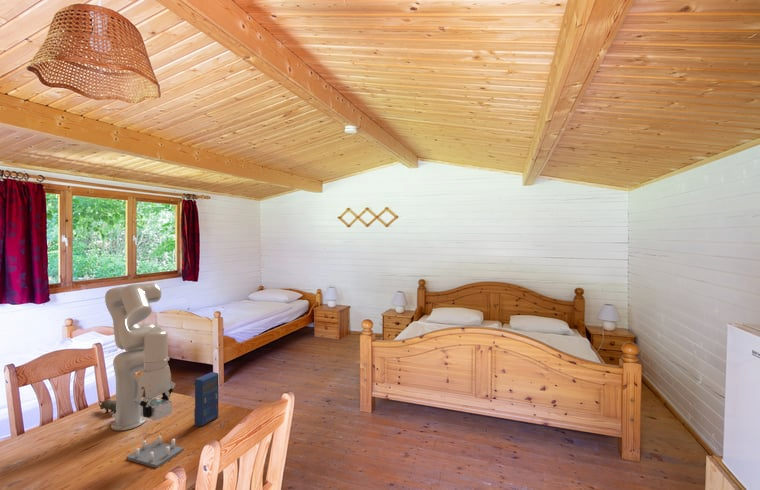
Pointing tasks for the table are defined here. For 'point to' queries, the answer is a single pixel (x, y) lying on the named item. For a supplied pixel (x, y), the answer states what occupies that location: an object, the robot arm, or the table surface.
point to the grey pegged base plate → (155, 453)
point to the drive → (159, 408)
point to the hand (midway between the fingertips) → (156, 412)
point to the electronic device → (206, 399)
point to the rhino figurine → (108, 405)
